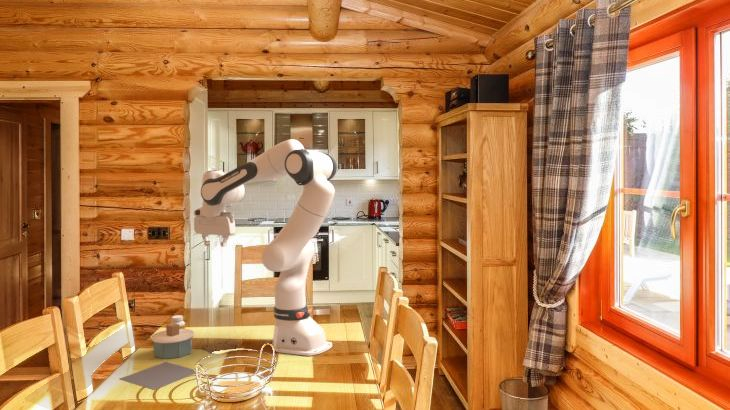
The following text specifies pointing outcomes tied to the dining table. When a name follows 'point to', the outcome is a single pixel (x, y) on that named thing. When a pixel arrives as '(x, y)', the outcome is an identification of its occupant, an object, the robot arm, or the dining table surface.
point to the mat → (159, 375)
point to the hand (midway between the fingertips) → (215, 245)
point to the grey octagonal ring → (172, 349)
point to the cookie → (222, 346)
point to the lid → (172, 334)
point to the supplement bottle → (178, 321)
